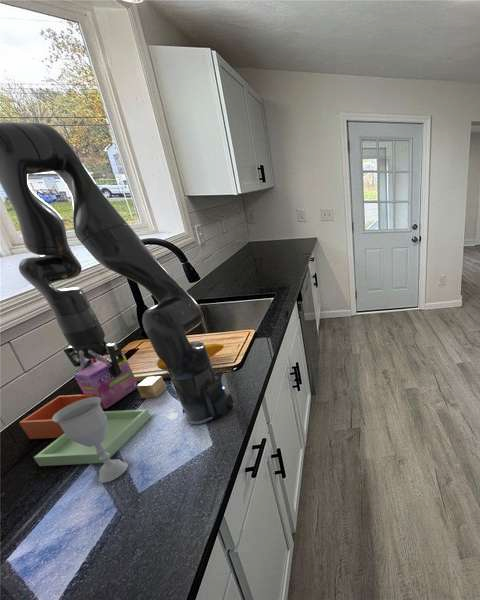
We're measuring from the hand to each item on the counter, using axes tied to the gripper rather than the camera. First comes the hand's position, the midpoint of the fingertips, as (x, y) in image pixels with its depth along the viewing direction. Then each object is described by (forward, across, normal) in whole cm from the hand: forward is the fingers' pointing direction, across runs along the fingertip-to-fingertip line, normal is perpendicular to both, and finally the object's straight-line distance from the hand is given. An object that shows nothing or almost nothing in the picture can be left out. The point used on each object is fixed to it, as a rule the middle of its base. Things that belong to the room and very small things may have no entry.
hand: (105, 376), depth 92 cm
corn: (+8, +14, +17) cm, 23 cm away
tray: (+8, +10, -17) cm, 21 cm away
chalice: (+8, +22, -27) cm, 36 cm away
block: (+8, +11, +1) cm, 13 cm away
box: (+8, 0, 0) cm, 8 cm away
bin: (+8, -4, -10) cm, 14 cm away
